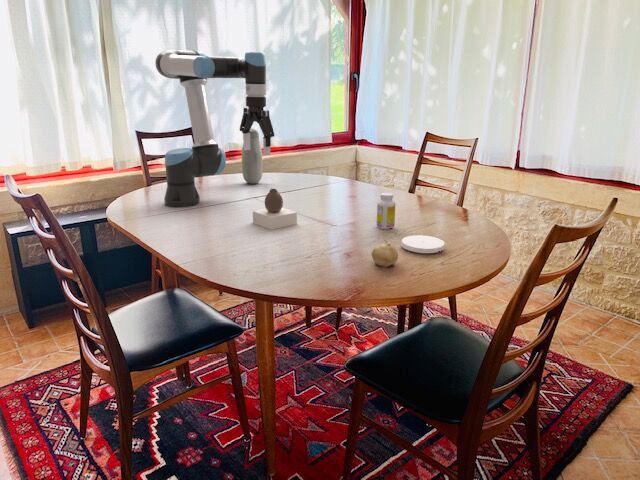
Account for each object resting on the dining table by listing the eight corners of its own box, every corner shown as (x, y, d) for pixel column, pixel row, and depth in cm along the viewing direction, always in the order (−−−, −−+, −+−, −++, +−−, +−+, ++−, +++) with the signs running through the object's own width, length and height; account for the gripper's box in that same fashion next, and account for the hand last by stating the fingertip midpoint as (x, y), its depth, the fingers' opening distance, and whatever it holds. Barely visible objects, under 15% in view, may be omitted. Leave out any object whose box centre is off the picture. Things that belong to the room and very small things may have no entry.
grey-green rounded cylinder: (239, 183, 263) (237, 128, 254) (255, 180, 270) (253, 127, 261) (250, 186, 256) (248, 130, 248) (266, 183, 263) (265, 128, 254)
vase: (280, 214, 189) (279, 191, 186) (262, 213, 191) (261, 190, 188) (285, 209, 196) (284, 187, 193) (268, 208, 197) (267, 186, 194)
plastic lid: (414, 239, 178) (414, 232, 177) (451, 248, 170) (451, 241, 169) (393, 249, 168) (393, 242, 167) (431, 259, 159) (432, 251, 158)
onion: (400, 269, 150) (401, 246, 148) (373, 269, 150) (374, 247, 148) (394, 259, 158) (395, 238, 156) (369, 260, 157) (370, 238, 155)
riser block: (253, 223, 195) (252, 210, 194) (278, 218, 203) (278, 206, 201) (271, 230, 187) (270, 217, 185) (296, 224, 194) (296, 212, 193)
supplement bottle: (395, 225, 192) (397, 193, 188) (392, 230, 186) (394, 196, 182) (378, 224, 195) (380, 191, 190) (374, 228, 189) (376, 195, 184)
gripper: (229, 93, 196) (231, 148, 203) (266, 98, 178) (267, 158, 185) (246, 93, 200) (247, 147, 207) (283, 97, 182) (283, 156, 190)
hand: (256, 152), depth 196 cm, fingers open, 13 cm apart
